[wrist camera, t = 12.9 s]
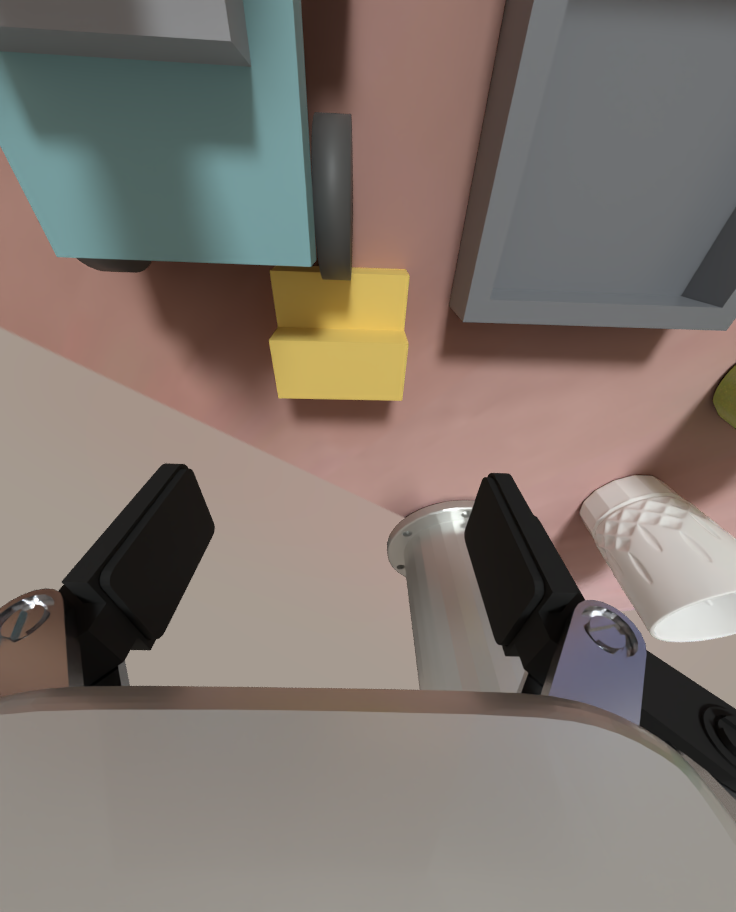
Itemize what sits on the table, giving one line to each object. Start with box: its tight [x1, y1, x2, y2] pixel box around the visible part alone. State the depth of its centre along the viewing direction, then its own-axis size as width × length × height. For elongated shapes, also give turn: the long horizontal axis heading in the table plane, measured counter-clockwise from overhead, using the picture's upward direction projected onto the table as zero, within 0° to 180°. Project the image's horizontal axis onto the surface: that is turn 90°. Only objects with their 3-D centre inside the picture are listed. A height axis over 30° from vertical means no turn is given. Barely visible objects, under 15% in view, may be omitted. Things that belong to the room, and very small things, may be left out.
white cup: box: [580, 475, 736, 642], centre depth 24 cm, size 8×8×10 cm
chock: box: [269, 266, 410, 401], centre depth 16 cm, size 6×6×4 cm
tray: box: [449, 0, 736, 331], centre depth 12 cm, size 13×13×3 cm
